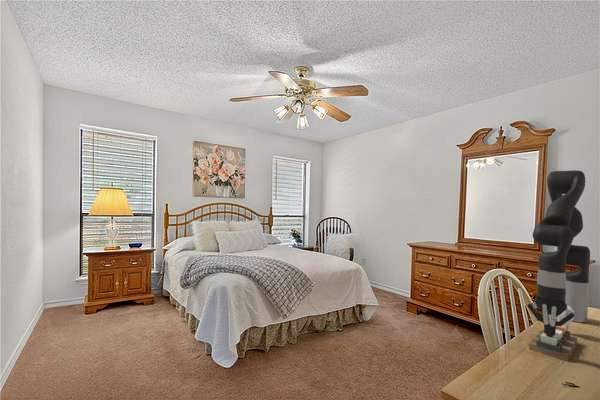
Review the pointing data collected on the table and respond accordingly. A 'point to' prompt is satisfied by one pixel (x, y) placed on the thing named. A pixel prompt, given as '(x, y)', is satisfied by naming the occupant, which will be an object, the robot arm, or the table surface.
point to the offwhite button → (559, 334)
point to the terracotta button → (561, 328)
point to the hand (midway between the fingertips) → (549, 336)
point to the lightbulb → (565, 316)
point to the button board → (558, 351)
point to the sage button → (549, 339)
